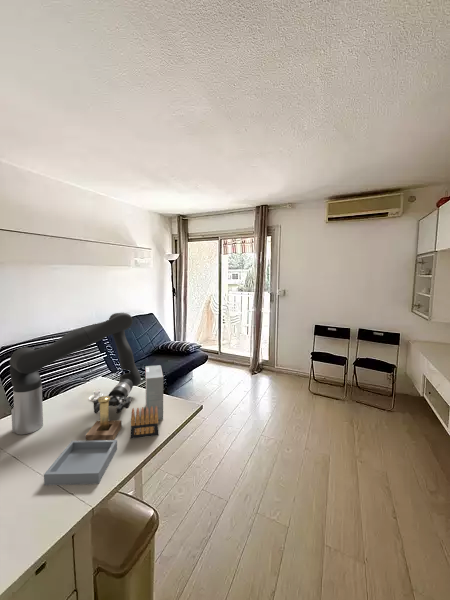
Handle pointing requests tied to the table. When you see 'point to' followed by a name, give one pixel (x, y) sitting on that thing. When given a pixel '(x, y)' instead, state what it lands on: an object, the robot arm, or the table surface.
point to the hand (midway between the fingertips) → (106, 411)
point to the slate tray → (81, 463)
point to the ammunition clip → (144, 423)
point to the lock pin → (104, 413)
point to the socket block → (104, 435)
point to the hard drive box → (154, 389)
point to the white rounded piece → (95, 395)
